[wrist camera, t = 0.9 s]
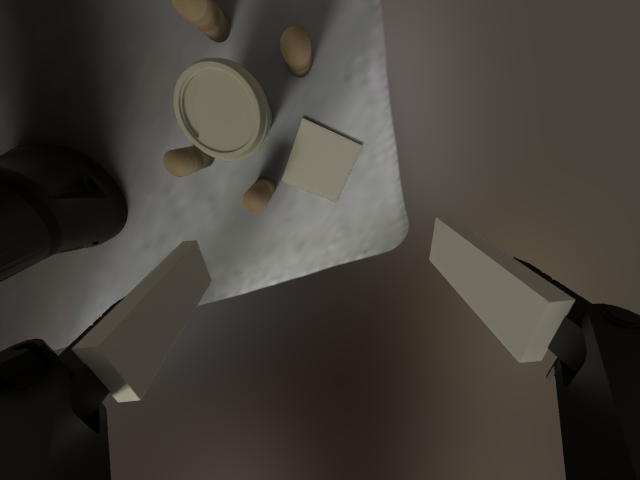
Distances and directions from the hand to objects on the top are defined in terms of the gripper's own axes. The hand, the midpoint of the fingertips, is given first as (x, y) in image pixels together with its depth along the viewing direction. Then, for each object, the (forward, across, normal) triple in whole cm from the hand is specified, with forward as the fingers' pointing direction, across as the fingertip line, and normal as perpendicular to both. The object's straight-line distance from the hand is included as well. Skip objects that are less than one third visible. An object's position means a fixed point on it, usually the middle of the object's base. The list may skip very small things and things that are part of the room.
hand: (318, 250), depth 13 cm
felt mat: (+24, +1, +1) cm, 24 cm away
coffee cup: (+24, -8, +8) cm, 27 cm away
